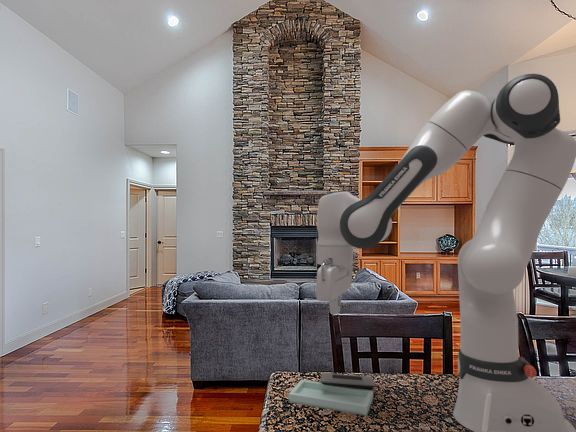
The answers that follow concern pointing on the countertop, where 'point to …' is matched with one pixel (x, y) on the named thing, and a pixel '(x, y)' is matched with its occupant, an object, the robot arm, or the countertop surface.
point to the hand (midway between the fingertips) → (335, 313)
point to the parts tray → (332, 397)
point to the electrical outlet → (347, 380)
